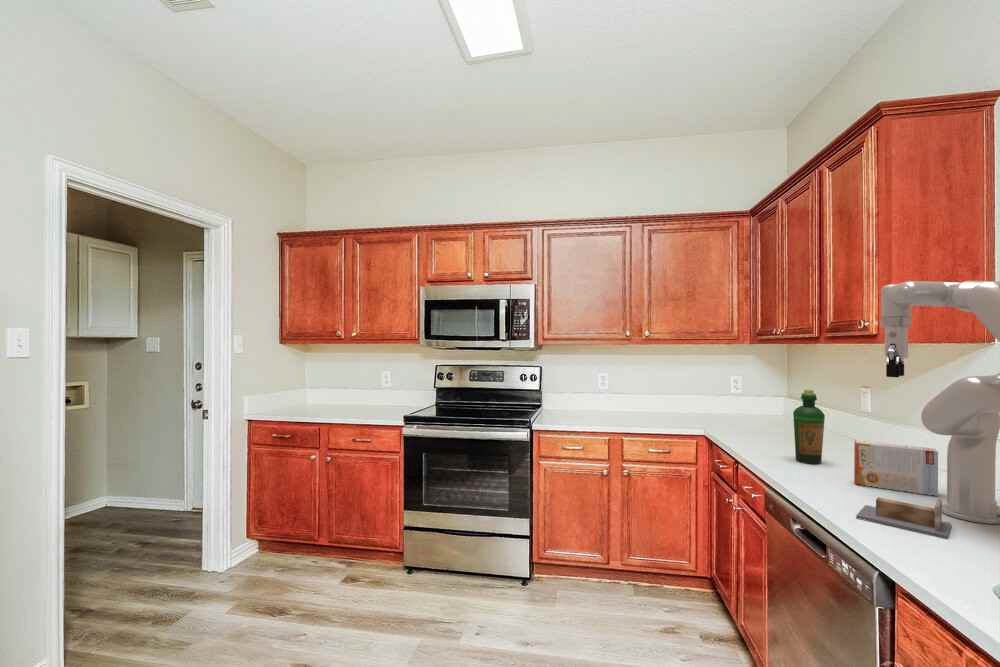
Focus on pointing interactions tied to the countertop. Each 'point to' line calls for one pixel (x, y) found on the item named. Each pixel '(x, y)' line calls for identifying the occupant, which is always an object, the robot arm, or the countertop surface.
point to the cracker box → (896, 467)
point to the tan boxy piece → (911, 512)
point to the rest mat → (903, 523)
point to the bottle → (808, 430)
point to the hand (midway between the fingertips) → (895, 376)
